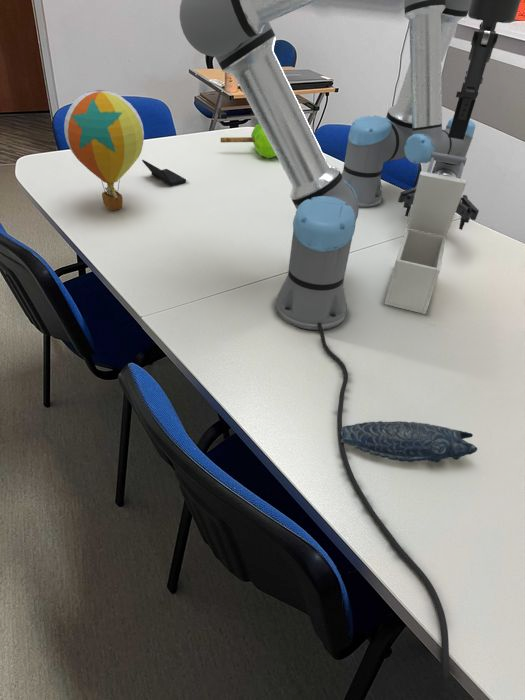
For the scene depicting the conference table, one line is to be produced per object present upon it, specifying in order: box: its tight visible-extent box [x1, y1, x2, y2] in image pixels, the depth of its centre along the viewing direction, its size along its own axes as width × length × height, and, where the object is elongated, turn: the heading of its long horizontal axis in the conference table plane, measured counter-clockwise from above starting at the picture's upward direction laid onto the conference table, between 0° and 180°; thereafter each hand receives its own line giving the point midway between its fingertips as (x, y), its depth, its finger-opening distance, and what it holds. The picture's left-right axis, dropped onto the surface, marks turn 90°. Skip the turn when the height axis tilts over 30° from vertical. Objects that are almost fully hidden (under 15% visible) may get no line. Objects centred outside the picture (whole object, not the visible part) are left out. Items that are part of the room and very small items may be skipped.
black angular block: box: [141, 159, 187, 187], centre depth 162 cm, size 12×7×10 cm
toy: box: [63, 89, 145, 212], centre depth 136 cm, size 20×20×30 cm
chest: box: [384, 228, 447, 315], centre depth 119 cm, size 17×9×11 cm, turn 160°
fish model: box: [340, 420, 478, 463], centre depth 82 cm, size 7×21×5 cm, turn 84°
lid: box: [406, 152, 468, 237], centre depth 115 cm, size 18×9×9 cm
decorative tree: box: [220, 122, 277, 159], centre depth 187 cm, size 18×10×30 cm
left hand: (457, 128), depth 97 cm, fingers open, 13 cm apart
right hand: (434, 217), depth 129 cm, fingers open, 13 cm apart
